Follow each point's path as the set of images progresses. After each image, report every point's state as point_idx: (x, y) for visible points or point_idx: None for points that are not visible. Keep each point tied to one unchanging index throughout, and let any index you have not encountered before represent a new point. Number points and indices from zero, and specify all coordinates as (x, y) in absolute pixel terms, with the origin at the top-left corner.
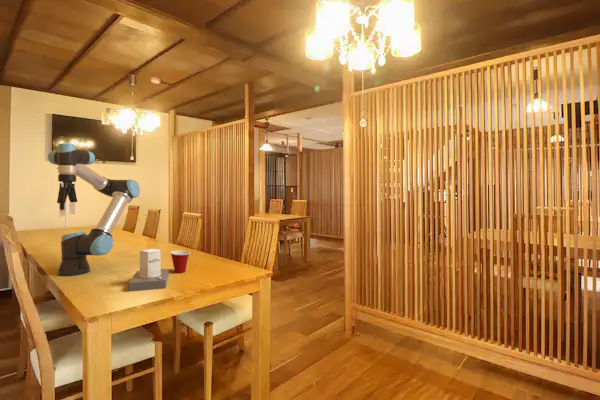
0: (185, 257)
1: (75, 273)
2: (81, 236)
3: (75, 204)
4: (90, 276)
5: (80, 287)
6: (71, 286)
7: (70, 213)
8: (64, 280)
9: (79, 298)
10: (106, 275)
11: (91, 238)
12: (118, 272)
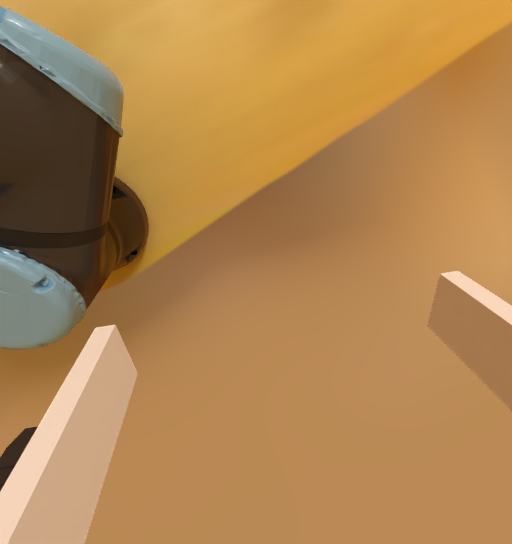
0: None
1: (136, 199)
2: (38, 234)
3: (7, 487)
4: (157, 128)
5: (317, 97)
6: (294, 139)
7: (130, 374)
8: (208, 201)
9: (457, 38)
10: (143, 55)
11: (68, 141)
12: (80, 5)
